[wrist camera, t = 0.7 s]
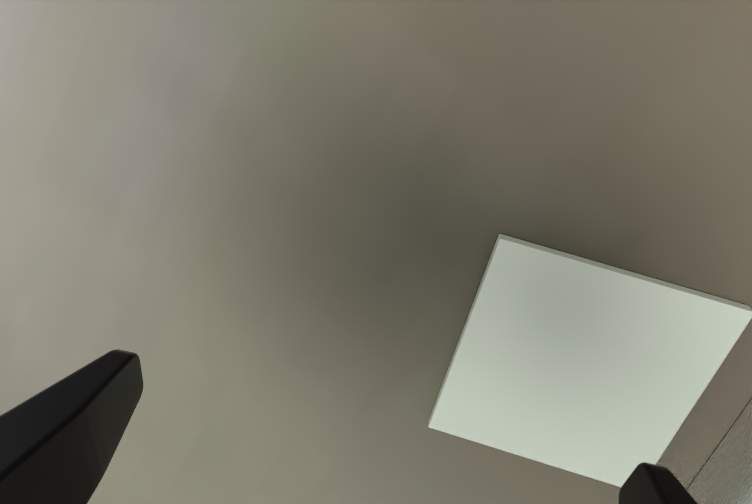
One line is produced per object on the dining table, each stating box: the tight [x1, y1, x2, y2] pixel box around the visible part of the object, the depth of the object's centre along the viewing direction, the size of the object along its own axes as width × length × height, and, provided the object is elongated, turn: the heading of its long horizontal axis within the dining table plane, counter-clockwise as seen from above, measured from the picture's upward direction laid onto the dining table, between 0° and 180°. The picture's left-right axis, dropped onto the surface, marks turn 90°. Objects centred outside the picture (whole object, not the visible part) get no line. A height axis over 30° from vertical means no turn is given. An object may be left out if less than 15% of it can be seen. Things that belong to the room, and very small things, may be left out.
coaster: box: [428, 234, 752, 487], centre depth 24 cm, size 11×11×1 cm
